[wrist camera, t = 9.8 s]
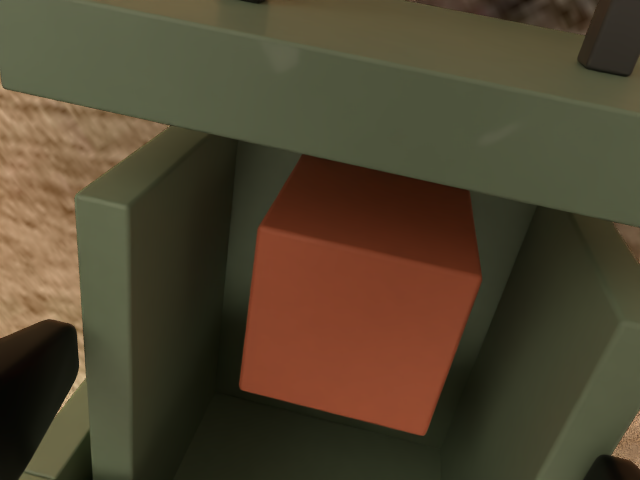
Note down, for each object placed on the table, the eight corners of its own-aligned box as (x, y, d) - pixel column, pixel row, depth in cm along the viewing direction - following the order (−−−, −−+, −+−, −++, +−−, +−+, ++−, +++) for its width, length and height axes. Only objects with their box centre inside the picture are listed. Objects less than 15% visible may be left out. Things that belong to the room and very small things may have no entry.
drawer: (209, -291, 10) (-86, -595, 4) (776, -201, 9) (1324, -421, 3) (179, 372, 17) (61, 575, 12) (483, 449, 16) (508, 702, 11)
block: (281, 287, 14) (237, 391, 11) (302, 150, 12) (256, 225, 9) (427, 322, 13) (425, 439, 10) (470, 186, 12) (485, 278, 8)
